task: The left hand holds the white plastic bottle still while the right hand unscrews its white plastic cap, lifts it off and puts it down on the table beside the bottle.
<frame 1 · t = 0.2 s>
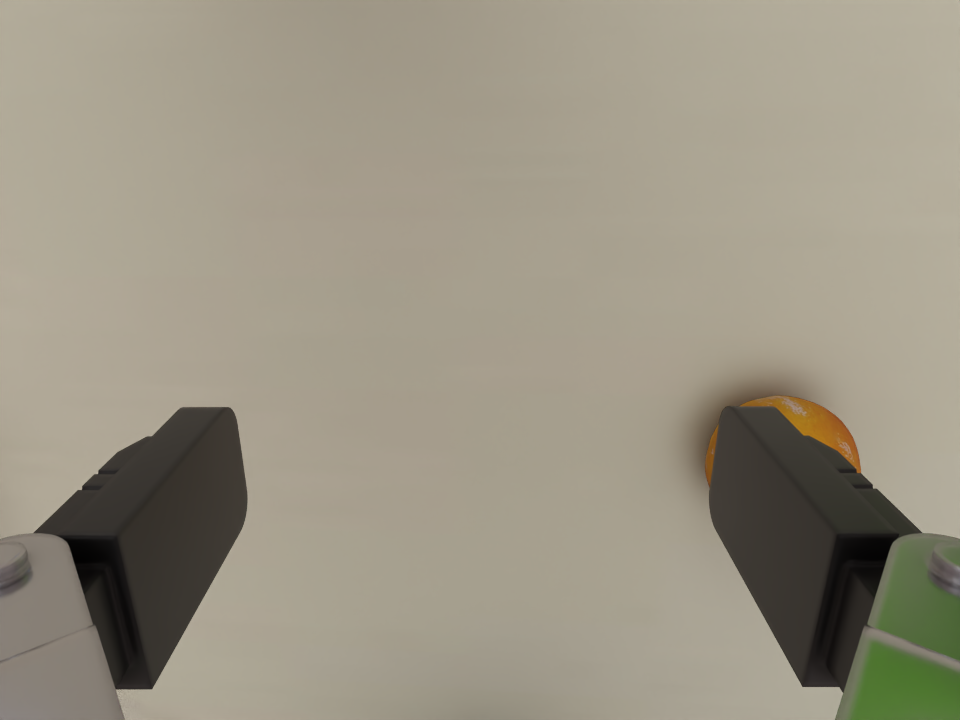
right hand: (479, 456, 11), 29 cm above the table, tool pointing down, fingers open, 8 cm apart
fruit: (757, 439, 44), on the table
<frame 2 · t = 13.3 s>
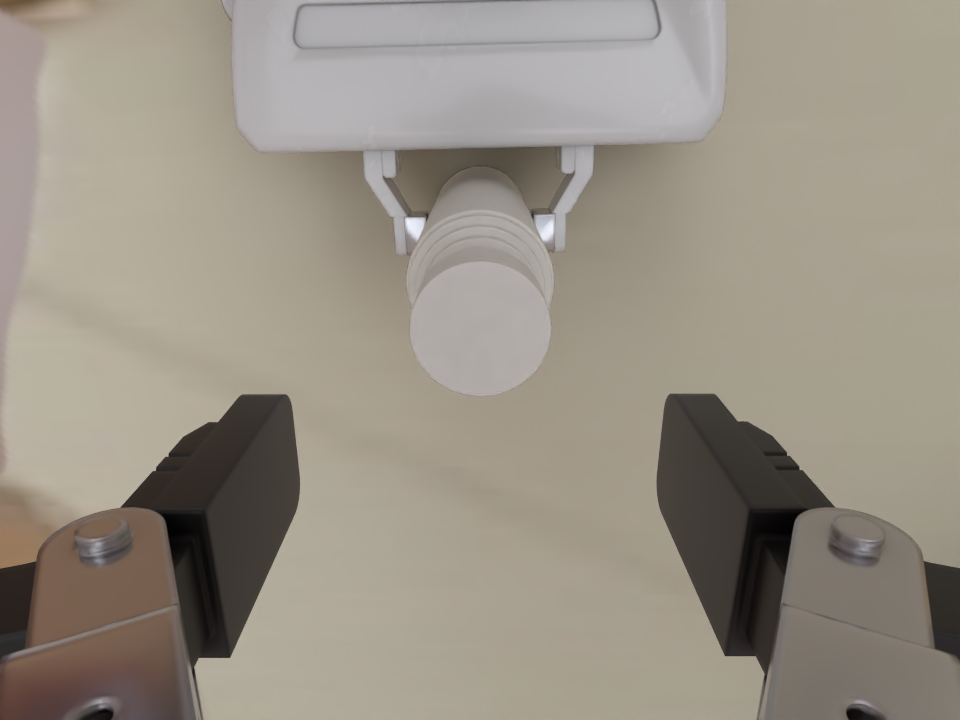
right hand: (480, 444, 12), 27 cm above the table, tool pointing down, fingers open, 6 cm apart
left hand: (481, 251, 31), fingers closed on bottle, 5 cm apart
cap: (480, 327, 18), point 20 cm above the table, screwed on, not yet turned
bottle: (480, 212, 36), on the table, touching left hand
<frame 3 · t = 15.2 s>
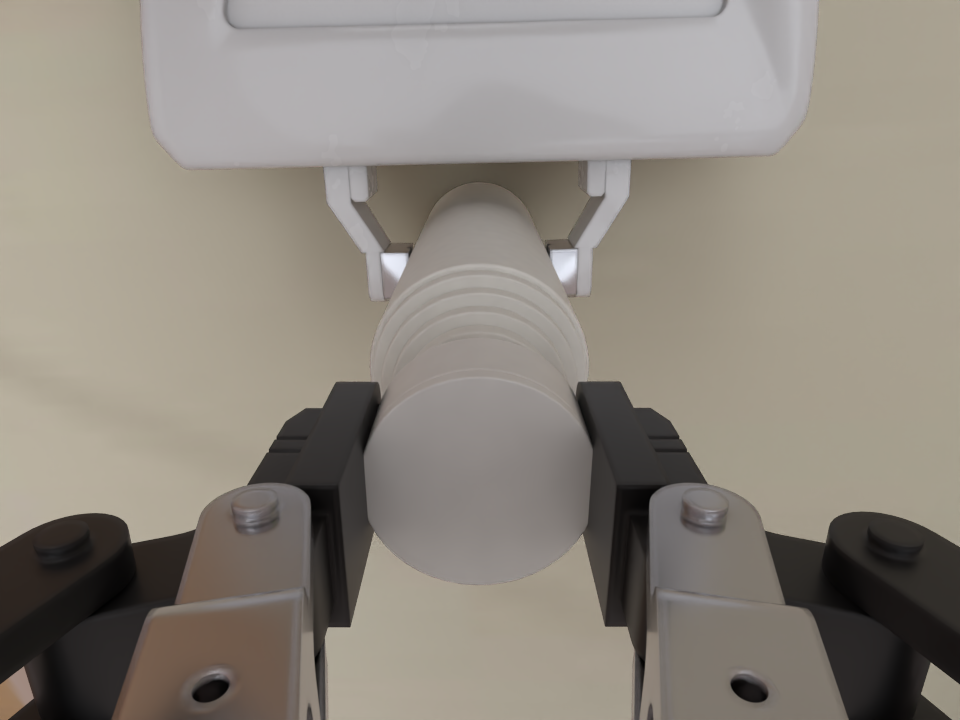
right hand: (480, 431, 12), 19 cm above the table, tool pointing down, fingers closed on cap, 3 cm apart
cap: (479, 478, 11), point 20 cm above the table, screwed on, not yet turned, touching right hand
bottle: (479, 238, 29), on the table, touching left hand
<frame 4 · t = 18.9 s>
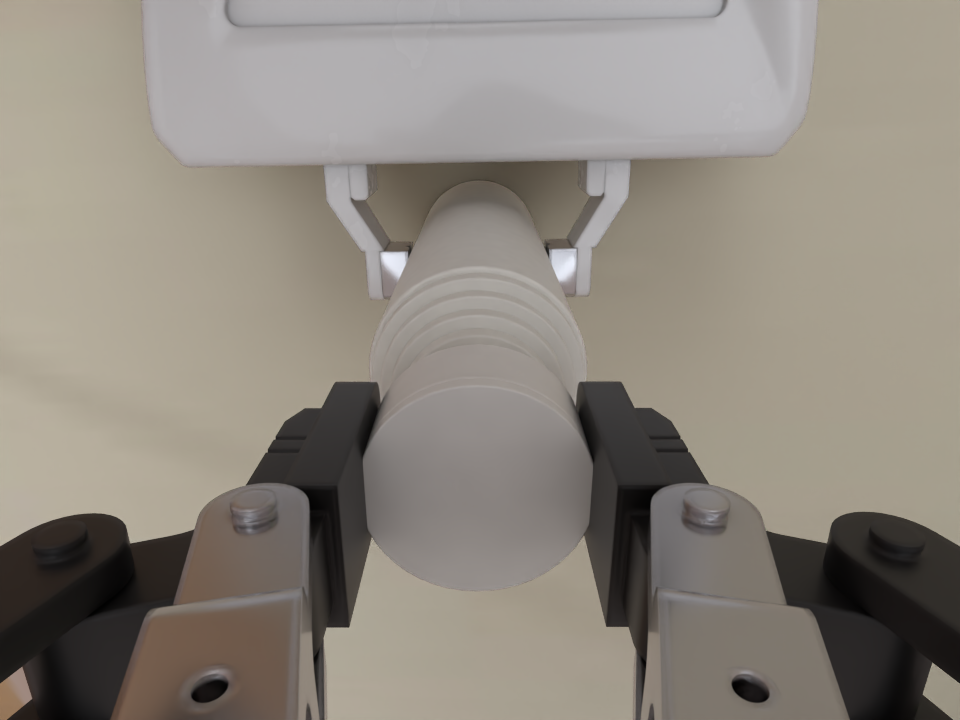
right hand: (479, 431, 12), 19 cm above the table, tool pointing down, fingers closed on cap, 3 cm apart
left hand: (480, 294, 24), fingers closed on bottle, 5 cm apart
cap: (477, 485, 11), point 20 cm above the table, turned 84° so far, risen 0.1 cm, still on its thread, touching right hand
bottle: (479, 236, 29), on the table, touching left hand
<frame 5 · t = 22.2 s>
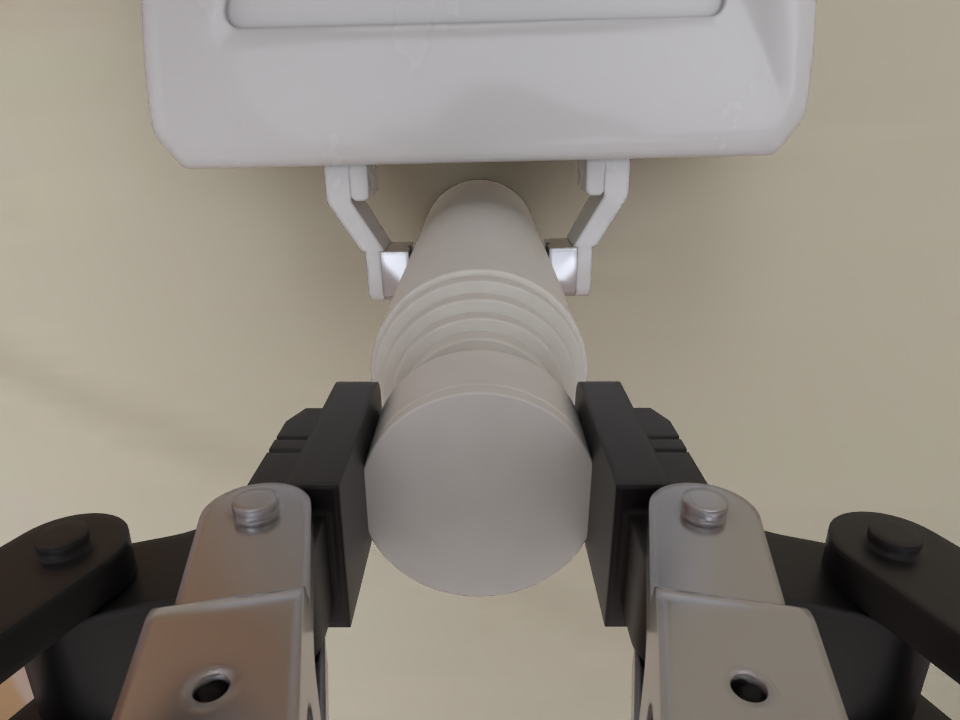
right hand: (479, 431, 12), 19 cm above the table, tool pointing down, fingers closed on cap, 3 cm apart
left hand: (481, 294, 24), fingers closed on bottle, 5 cm apart
cap: (479, 491, 11), point 20 cm above the table, turned 167° so far, risen 0.2 cm, still on its thread, touching right hand
bottle: (479, 235, 30), on the table, touching left hand
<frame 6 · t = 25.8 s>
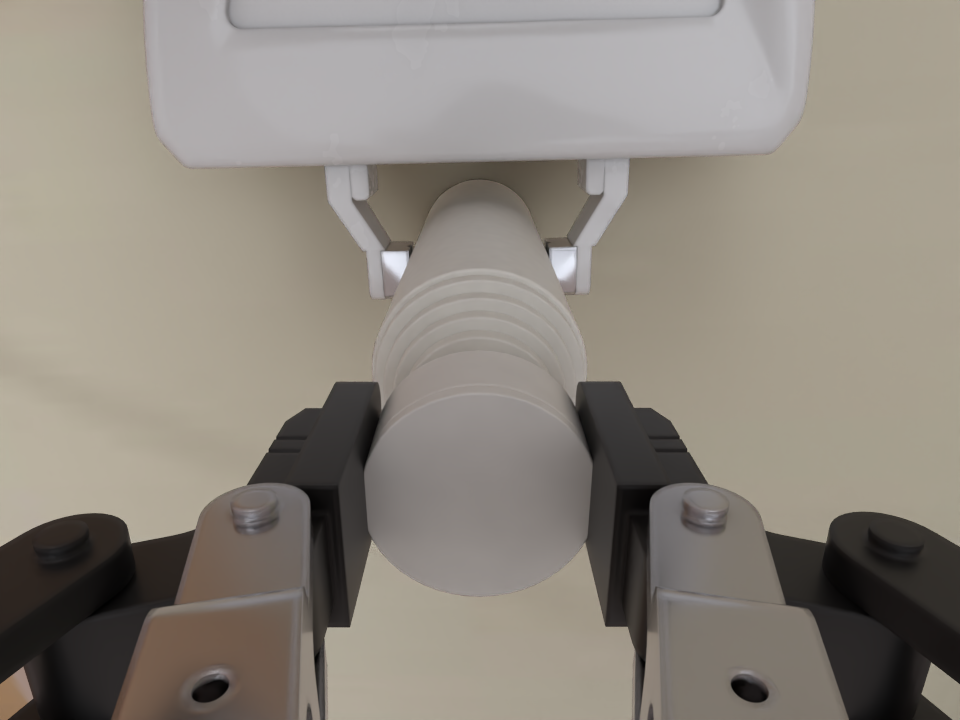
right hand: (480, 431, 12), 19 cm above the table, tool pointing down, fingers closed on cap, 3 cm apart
cap: (479, 491, 11), point 20 cm above the table, turned 250° so far, risen 0.3 cm, still on its thread, touching right hand
bottle: (479, 235, 30), on the table, touching left hand
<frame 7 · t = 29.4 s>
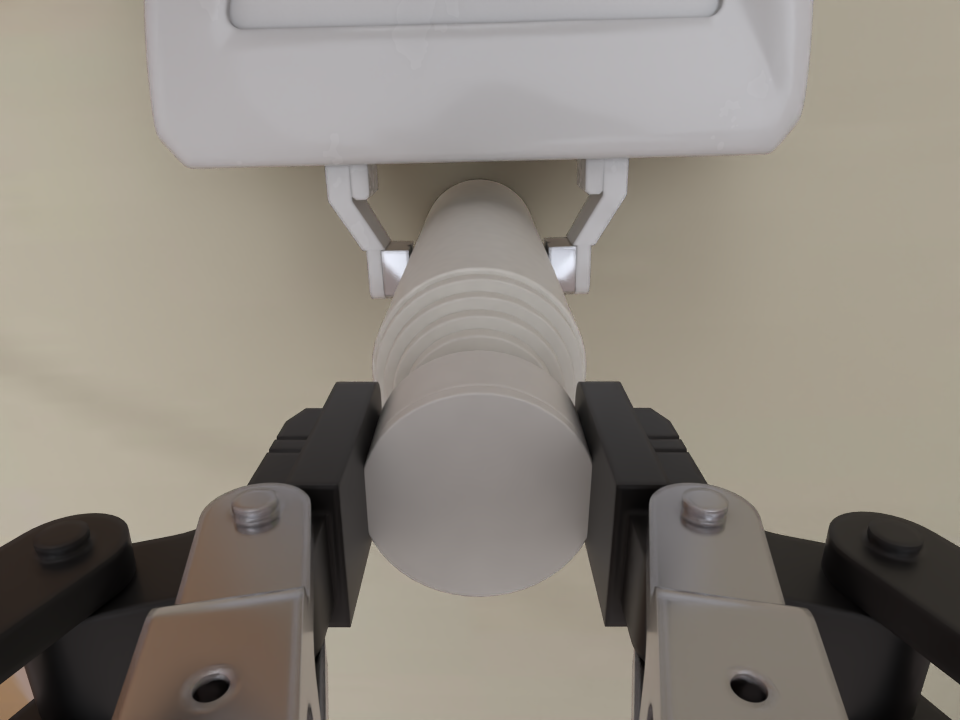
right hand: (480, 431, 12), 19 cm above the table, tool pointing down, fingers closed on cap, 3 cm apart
cap: (479, 491, 11), point 21 cm above the table, turned 333° so far, risen 0.3 cm, still on its thread, touching right hand
bottle: (479, 235, 30), on the table, touching left hand
when the right hand's fingers open (1 cm above the table, at t = 35.9 s): cap drops 1 cm, point 1 cm above the table.
when the left hand's fingers open (6 cm above the table, at t = 37.1 s): bottle stays where it is, on the table.
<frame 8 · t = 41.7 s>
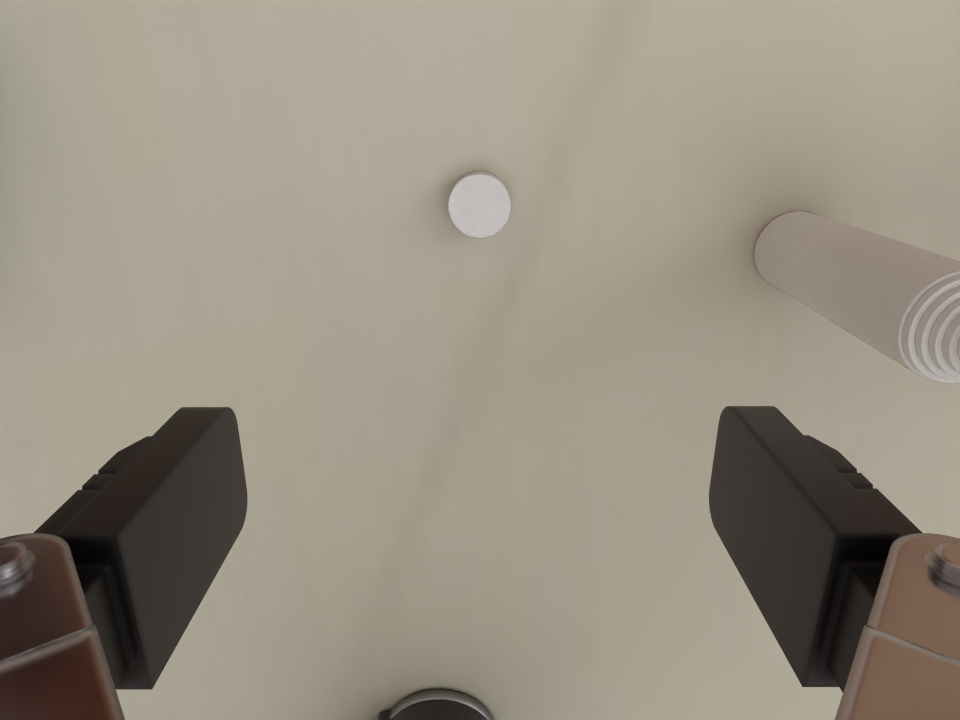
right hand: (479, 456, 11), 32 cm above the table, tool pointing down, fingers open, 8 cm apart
cap: (479, 205, 40), point 1 cm above the table, off its thread
bottle: (792, 249, 42), on the table
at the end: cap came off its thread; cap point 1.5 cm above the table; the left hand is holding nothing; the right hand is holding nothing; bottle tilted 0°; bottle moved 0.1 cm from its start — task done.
